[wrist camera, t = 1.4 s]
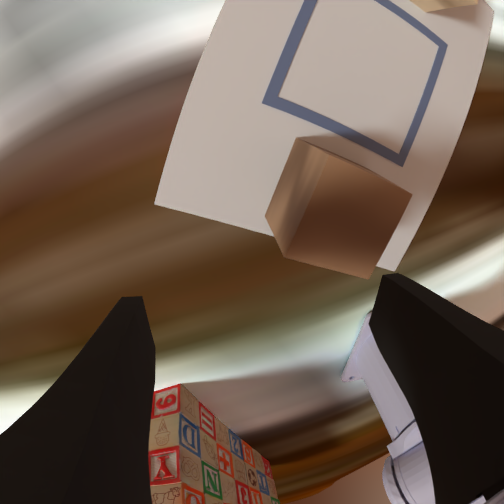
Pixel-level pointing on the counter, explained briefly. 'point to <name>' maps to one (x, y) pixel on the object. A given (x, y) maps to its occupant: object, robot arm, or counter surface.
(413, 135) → the board
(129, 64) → the counter surface
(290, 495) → the counter surface
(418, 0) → the maple block
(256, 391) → the counter surface
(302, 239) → the walnut block
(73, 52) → the counter surface
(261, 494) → the stack of blocks
